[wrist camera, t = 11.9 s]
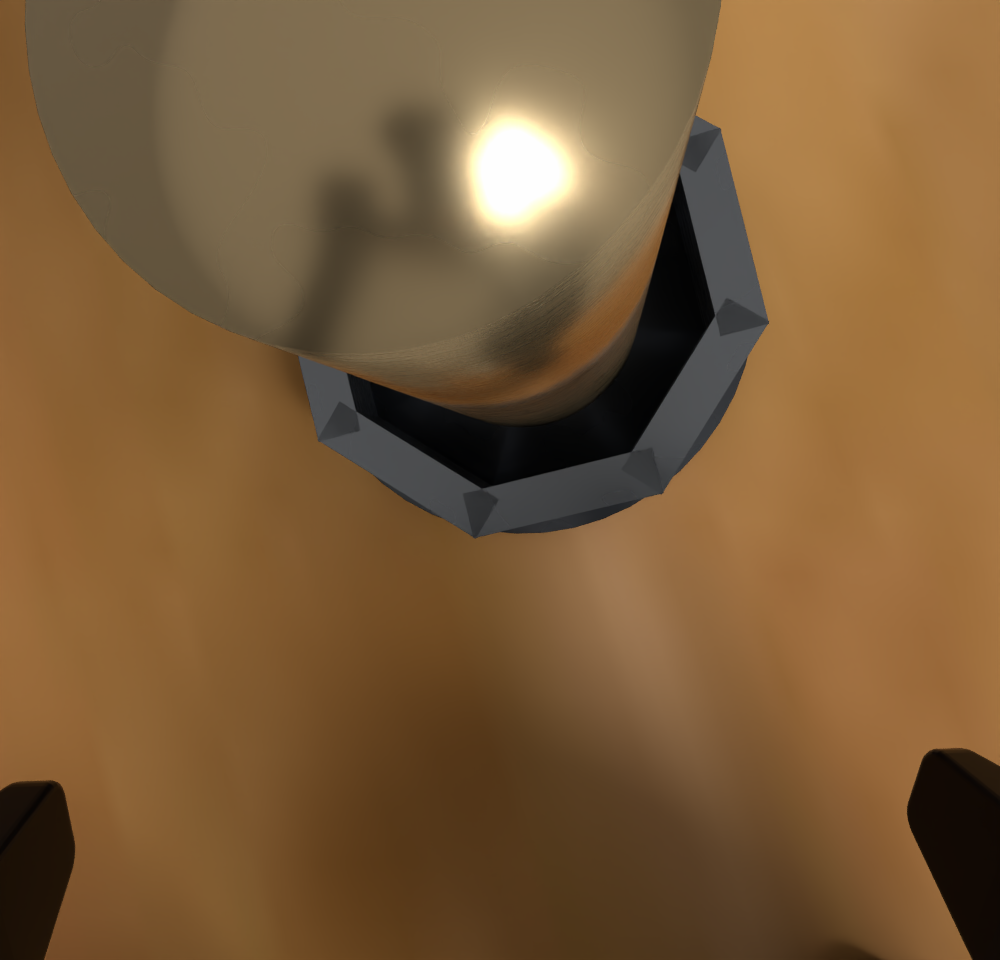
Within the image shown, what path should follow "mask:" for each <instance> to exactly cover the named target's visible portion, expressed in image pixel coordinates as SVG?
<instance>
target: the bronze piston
mask: <svg viewBox="0 0 1000 960" xmlns="http://www.w3.org/2000/svg"><path fill="white" fill-rule="evenodd" d="M720 7H721V0H26V9H25V31H26V42H27V54H28V65H29V73H30V77H31V82H32V87H33V91H34V96H35V101H36V106H37V110H38V114H39V117H40V120H41V123H42V126H43V129H44V132H45V135H46V137H47V140H48V143H49V146H50V149H51V152H52V155H53V157H54V159H55V161H56V163H57V165H58V167H59V169H60V171H61V173H62V175H63V177H64V179H65V181H66V183H67V185H68V187H69V189H70V191H71V193H72V195H73V196H74V198H75V199H76V201H77V202H78V204H79V205H80V207H81V208H82V210H83V211H84V213H85V214H86V216H87V217H88V219H89V220H90V222H91V223H92V225H93V226H94V228H95V229H96V230H97V232H98V233H99V234H100V235H101V236H102V237H103V238H104V240H105V241H106V242H107V243H108V244H109V245H110V246H111V248H112V249H113V250H114V251H115V252H116V253H117V254H118V256H119V257H120V258H121V259H122V260H123V261H124V262H125V263H126V264H127V265H128V266H129V267H131V268H132V269H133V270H134V271H135V272H136V273H137V274H139V275H140V276H141V277H142V278H143V279H144V280H145V281H147V282H148V283H149V284H150V285H151V286H152V287H153V288H155V289H156V290H157V291H159V292H160V293H162V294H163V295H165V296H166V297H168V298H169V299H171V300H172V301H174V302H176V303H177V304H179V305H180V306H182V307H183V308H185V309H186V310H188V311H189V312H191V313H193V314H195V315H197V316H199V317H201V318H203V319H205V320H207V321H209V322H211V323H214V324H216V325H218V326H220V327H222V328H224V329H226V330H228V331H230V332H233V333H236V334H239V335H242V336H244V337H247V338H250V339H253V340H256V341H258V342H261V343H264V344H267V345H270V346H272V347H275V348H278V349H281V350H284V351H287V352H289V353H292V354H295V355H298V356H301V357H303V358H306V359H309V360H312V361H315V362H317V363H320V364H323V365H326V366H329V367H331V368H334V369H337V370H340V371H343V372H346V373H348V374H351V375H354V376H357V377H360V378H362V379H365V380H368V381H371V382H374V383H376V384H379V385H382V386H385V387H388V388H391V389H393V390H396V391H399V392H402V393H405V394H407V395H410V396H413V397H416V398H419V399H421V400H424V401H427V402H430V403H433V404H435V405H438V406H441V407H444V408H447V409H450V410H452V411H455V412H458V413H461V414H464V415H466V416H469V417H472V418H475V419H478V420H481V421H484V422H487V423H490V424H493V425H499V426H504V427H516V428H526V427H537V426H542V425H547V424H551V423H555V422H557V421H560V420H563V419H566V418H568V417H570V416H572V415H574V414H576V413H578V412H579V411H581V410H583V409H584V408H586V407H587V406H588V405H590V404H591V403H593V402H594V401H595V400H596V399H597V398H598V397H599V396H601V395H602V394H603V393H604V392H605V391H606V390H607V388H608V387H609V386H610V385H611V384H612V383H613V381H614V380H615V379H616V377H617V376H618V374H619V373H620V371H621V370H622V368H623V366H624V364H625V362H626V360H627V358H628V356H629V354H630V351H631V348H632V345H633V342H634V339H635V336H636V332H637V328H638V325H639V321H640V317H641V314H642V310H643V306H644V303H645V299H646V295H647V291H648V288H649V284H650V280H651V277H652V273H653V269H654V266H655V262H656V258H657V255H658V251H659V247H660V244H661V240H662V236H663V233H664V229H665V225H666V221H667V218H668V214H669V210H670V207H671V203H672V199H673V196H674V192H675V188H676V185H677V181H678V177H679V174H680V170H681V166H682V163H683V159H684V155H685V151H686V148H687V144H688V140H689V137H690V133H691V129H692V126H693V122H694V118H695V115H696V111H697V107H698V104H699V100H700V96H701V93H702V89H703V85H704V81H705V78H706V74H707V70H708V67H709V63H710V59H711V55H712V50H713V45H714V39H715V34H716V29H717V23H718V18H719V13H720Z"/></svg>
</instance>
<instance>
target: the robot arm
mask: <svg viewBox="0 0 1000 960" xmlns="http://www.w3.org/2000/svg"><path fill="white" fill-rule="evenodd" d="M907 816H908V822H909V825H910V828H911V831H912V833H913V835H914V838H915V840H916V842H917V844H918V846H919V848H920V850H921V852H922V855H923V857H924V859H925V861H926V863H927V865H928V867H929V869H930V871H931V874H932V876H933V878H934V880H935V882H936V884H937V886H938V888H939V891H940V893H941V895H942V897H943V899H944V901H945V903H946V905H947V908H948V910H949V912H950V914H951V916H952V918H953V920H954V922H955V924H956V927H957V929H958V931H959V933H960V935H961V937H962V939H963V941H964V944H965V946H966V948H967V950H968V952H969V954H970V956H971V958H972V960H1000V766H999V765H997V764H995V763H993V762H991V761H989V760H988V759H986V758H984V757H982V756H980V755H979V754H977V753H975V752H973V751H971V750H968V749H963V748H951V749H933V750H930V751H929V752H928V753H927V754H926V755H925V756H924V757H923V759H922V762H921V765H920V768H919V771H918V774H917V777H916V780H915V783H914V786H913V789H912V792H911V795H910V798H909V801H908V806H907ZM74 858H75V841H74V836H73V831H72V826H71V822H70V817H69V812H68V807H67V802H66V798H65V793H64V790H63V788H62V786H61V785H60V784H59V783H58V782H55V781H51V780H50V781H23V782H16V783H12V784H10V785H8V786H6V787H5V788H3V789H2V790H1V791H0V960H44V958H45V955H46V952H47V948H48V945H49V942H50V939H51V936H52V933H53V929H54V926H55V923H56V920H57V917H58V913H59V910H60V907H61V904H62V901H63V898H64V894H65V891H66V888H67V885H68V882H69V878H70V875H71V872H72V868H73V864H74Z"/></svg>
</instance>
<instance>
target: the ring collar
mask: <svg viewBox="0 0 1000 960" xmlns="http://www.w3.org/2000/svg"><path fill="white" fill-rule="evenodd" d="M768 324H769V321H768V318H767V314H766V310H765V306H764V302H763V298H762V294H761V290H760V286H759V282H758V278H757V274H756V270H755V266H754V262H753V258H752V254H751V250H750V246H749V242H748V238H747V234H746V230H745V226H744V222H743V218H742V214H741V210H740V206H739V202H738V198H737V194H736V190H735V186H734V182H733V178H732V174H731V170H730V166H729V162H728V158H727V154H726V150H725V146H724V142H723V138H722V134H721V129H720V128H718V127H716V126H714V125H712V124H710V123H708V122H707V121H705V120H703V119H701V118H699V117H697V116H695V118H694V122H693V126H692V129H691V133H690V137H689V140H688V144H687V148H686V151H685V155H684V159H683V163H682V166H681V170H680V174H679V177H678V181H677V185H676V188H675V192H674V196H673V199H672V203H671V207H670V210H669V214H668V218H667V221H666V225H665V229H664V233H663V236H662V240H661V244H660V247H659V251H658V255H657V258H656V262H655V266H654V269H653V273H652V277H651V280H650V284H649V288H648V291H647V295H646V299H645V303H644V306H643V310H642V314H641V317H640V321H639V325H638V328H637V332H636V336H635V339H634V342H633V345H632V348H631V351H630V354H629V356H628V358H627V360H626V362H625V364H624V366H623V368H622V370H621V371H620V373H619V374H618V376H617V377H616V379H615V380H614V381H613V383H612V384H611V385H610V386H609V387H608V388H607V390H606V391H605V392H604V393H603V394H602V395H601V396H599V397H598V398H597V399H596V400H595V401H594V402H593V403H591V404H590V405H588V406H587V407H586V408H584V409H583V410H581V411H579V412H578V413H576V414H574V415H572V416H570V417H568V418H566V419H563V420H560V421H557V422H555V423H551V424H547V425H542V426H537V427H526V428H516V427H504V426H499V425H493V424H490V423H487V422H484V421H481V420H478V419H475V418H472V417H469V416H466V415H464V414H461V413H458V412H455V411H452V410H450V409H447V408H444V407H441V406H438V405H435V404H433V403H430V402H427V401H424V400H421V399H419V398H416V397H413V396H410V395H407V394H405V393H402V392H399V391H396V390H393V389H391V388H388V387H385V386H382V385H379V384H376V383H374V382H371V381H368V380H365V379H362V378H360V377H357V376H354V375H351V374H348V373H346V372H343V371H340V370H337V369H334V368H331V367H329V366H326V365H323V364H320V363H317V362H315V361H312V360H309V359H306V358H303V357H301V356H298V358H299V362H300V366H301V370H302V374H303V379H304V383H305V387H306V391H307V395H308V399H309V403H310V407H311V412H312V416H313V420H314V424H315V428H316V432H317V436H318V440H319V442H322V443H323V444H325V445H327V446H328V447H330V448H331V449H333V450H335V451H336V452H338V453H339V454H341V455H343V456H344V457H346V458H347V459H349V460H351V461H352V462H354V463H355V464H357V465H359V466H360V467H362V468H363V469H365V470H367V471H368V472H370V473H371V474H373V475H374V476H375V477H376V478H377V479H378V480H379V481H381V482H382V483H383V484H384V485H385V486H387V487H388V488H390V489H391V490H392V491H394V492H395V493H397V494H398V495H399V496H401V497H402V498H403V499H405V500H406V501H408V502H410V503H412V504H414V505H416V506H418V507H419V508H421V509H423V510H425V511H427V512H429V513H431V514H433V515H436V516H438V517H441V518H444V519H445V520H447V521H448V522H450V523H452V524H453V525H455V526H457V527H458V528H460V529H461V530H463V531H465V532H466V533H468V534H469V535H471V536H473V538H478V537H480V536H485V535H489V534H493V533H497V532H506V533H544V532H551V531H557V530H563V529H569V528H575V527H578V526H581V525H584V524H588V523H591V522H594V521H597V520H601V519H604V518H606V517H608V516H610V515H612V514H615V513H617V512H619V511H621V510H623V509H626V508H628V507H630V506H632V505H633V504H635V503H637V502H638V501H640V500H641V499H643V498H645V497H649V496H653V495H657V494H662V493H664V490H665V488H666V487H667V485H668V483H669V482H670V480H671V479H672V477H673V476H674V475H676V474H677V473H678V472H679V471H680V470H681V469H682V468H683V467H684V466H685V465H686V464H687V463H688V462H689V461H690V460H691V459H692V458H693V457H694V455H695V454H696V453H697V452H698V451H699V450H700V449H701V448H702V447H703V445H704V444H705V442H706V441H707V440H708V438H709V437H710V435H711V434H712V433H713V431H714V430H715V428H716V427H717V426H718V424H719V423H720V421H721V419H722V417H723V415H724V414H725V412H726V410H727V408H728V406H729V404H730V402H731V400H732V399H733V397H734V395H735V392H736V389H737V387H738V384H739V381H740V379H741V376H742V373H743V371H744V368H745V365H746V361H747V356H748V355H749V353H750V352H751V350H752V348H753V347H754V345H755V344H756V342H757V340H758V339H759V337H760V336H761V334H762V332H763V331H764V329H765V327H766V326H767V325H768Z"/></svg>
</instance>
